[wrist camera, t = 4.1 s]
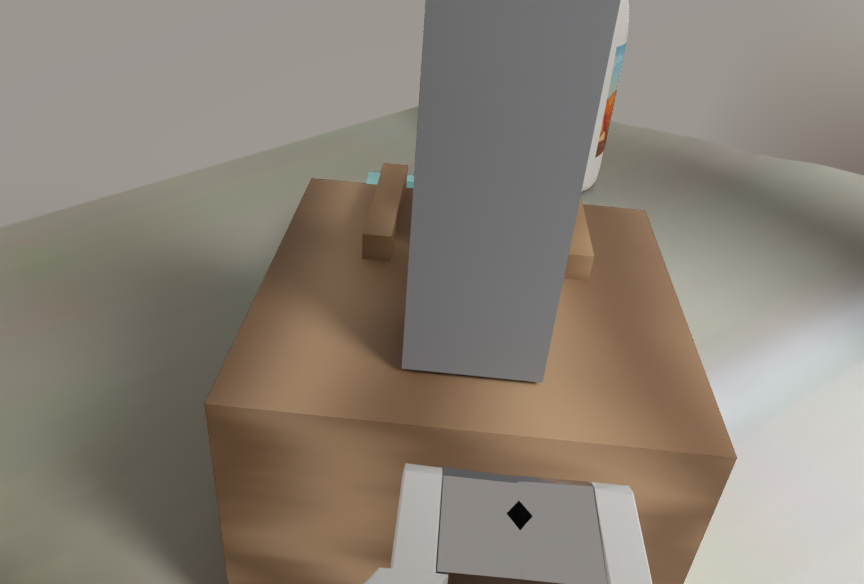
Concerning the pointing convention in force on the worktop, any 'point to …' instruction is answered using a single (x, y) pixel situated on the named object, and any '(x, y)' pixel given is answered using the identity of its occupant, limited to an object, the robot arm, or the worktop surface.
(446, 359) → the dome-capped grey pillar
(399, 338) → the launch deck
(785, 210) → the worktop surface
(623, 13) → the milk bottle
